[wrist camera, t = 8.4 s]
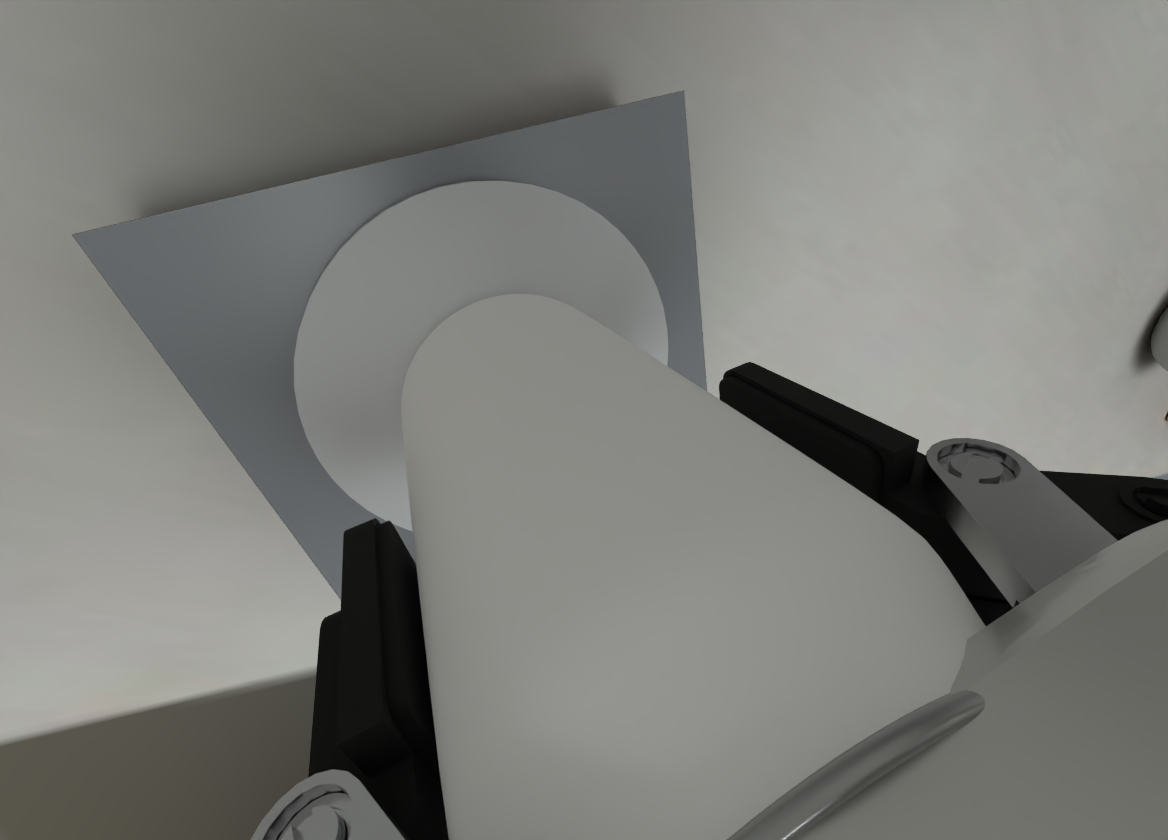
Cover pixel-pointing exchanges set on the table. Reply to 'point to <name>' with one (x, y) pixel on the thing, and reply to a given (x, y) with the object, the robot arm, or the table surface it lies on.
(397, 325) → the scale
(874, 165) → the table surface
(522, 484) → the can
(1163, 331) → the pump dispenser
